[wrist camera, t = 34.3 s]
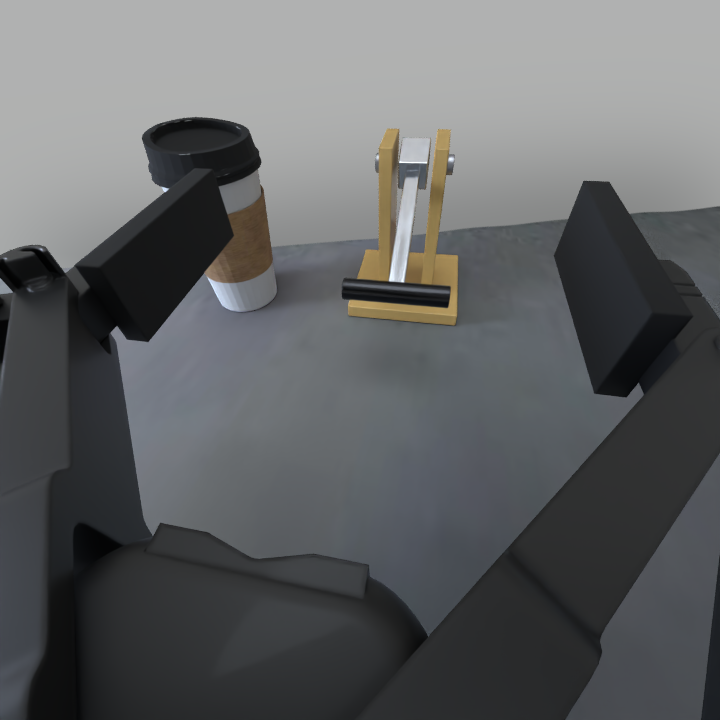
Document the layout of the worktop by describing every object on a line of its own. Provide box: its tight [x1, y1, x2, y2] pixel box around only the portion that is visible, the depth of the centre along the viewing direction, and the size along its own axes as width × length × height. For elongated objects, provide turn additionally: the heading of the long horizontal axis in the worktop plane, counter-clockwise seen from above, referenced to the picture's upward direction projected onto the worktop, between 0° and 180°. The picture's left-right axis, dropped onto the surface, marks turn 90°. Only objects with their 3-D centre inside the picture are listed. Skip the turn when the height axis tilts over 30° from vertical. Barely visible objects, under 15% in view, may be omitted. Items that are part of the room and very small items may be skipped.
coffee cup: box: [142, 117, 277, 312], centre depth 33 cm, size 8×8×15 cm
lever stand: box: [348, 129, 458, 325], centre depth 33 cm, size 10×10×14 cm
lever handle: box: [342, 137, 451, 308], centre depth 27 cm, size 14×7×2 cm, turn 170°
